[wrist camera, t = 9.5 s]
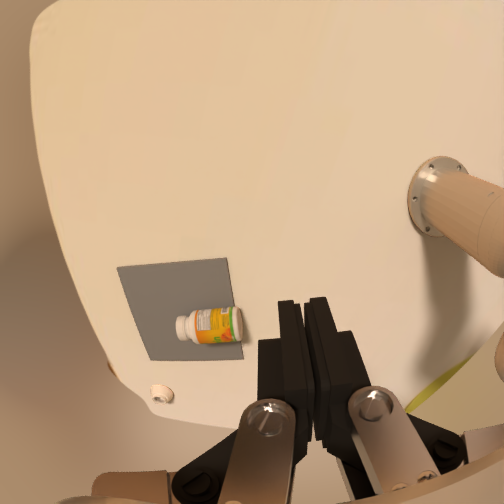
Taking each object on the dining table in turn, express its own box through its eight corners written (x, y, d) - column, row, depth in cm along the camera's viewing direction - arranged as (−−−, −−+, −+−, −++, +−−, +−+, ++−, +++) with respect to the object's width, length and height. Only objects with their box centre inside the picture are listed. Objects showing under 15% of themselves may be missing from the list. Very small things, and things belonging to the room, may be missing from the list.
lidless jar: (174, 399, 58) (172, 385, 56) (172, 409, 56) (168, 395, 54) (153, 395, 58) (149, 381, 56) (149, 405, 56) (145, 391, 54)
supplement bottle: (244, 343, 46) (186, 348, 47) (242, 311, 48) (185, 317, 49) (238, 336, 41) (173, 341, 42) (235, 301, 44) (173, 307, 45)
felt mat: (226, 257, 44) (226, 258, 43) (243, 357, 52) (243, 359, 51) (117, 267, 45) (116, 268, 45) (151, 358, 53) (150, 360, 53)
